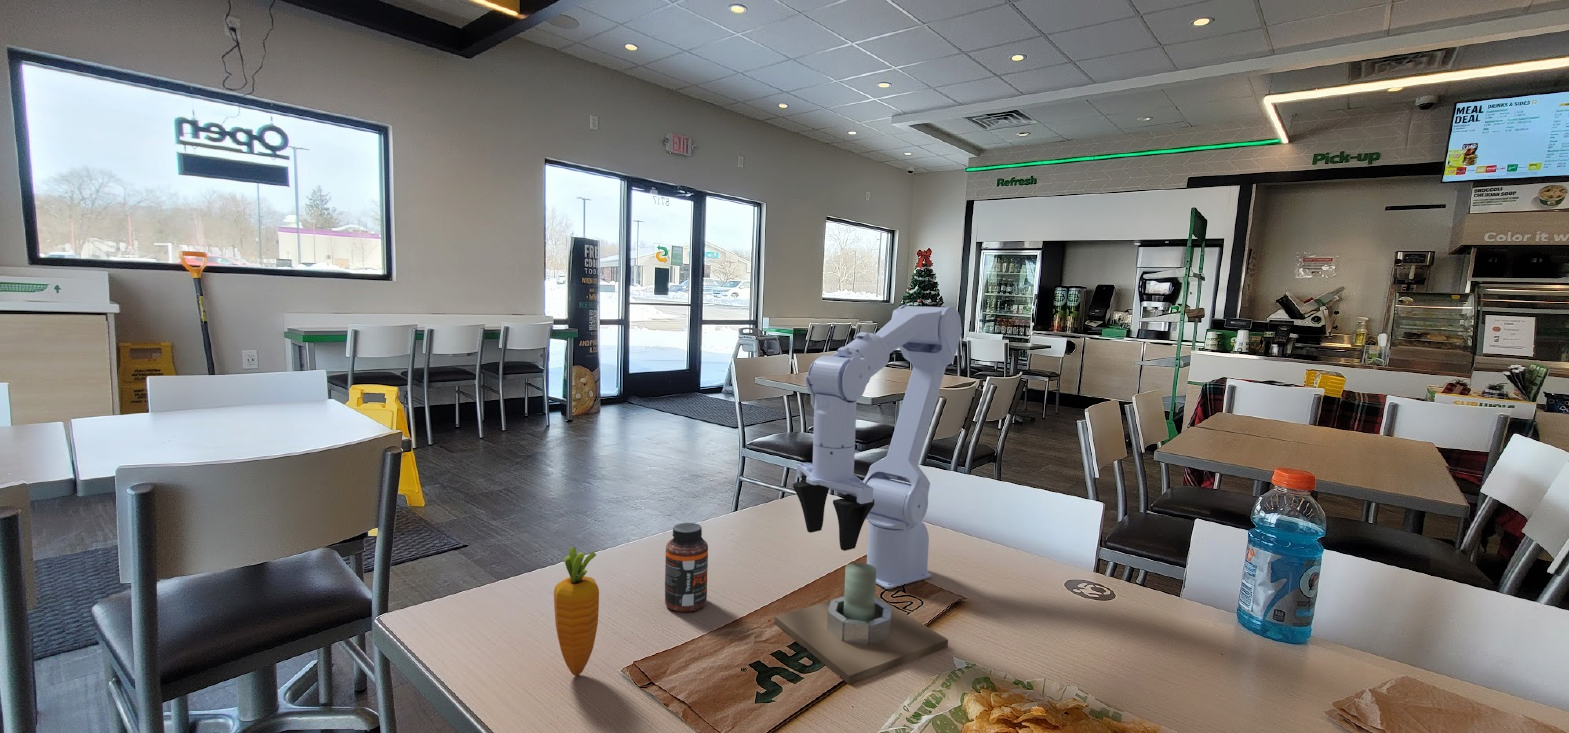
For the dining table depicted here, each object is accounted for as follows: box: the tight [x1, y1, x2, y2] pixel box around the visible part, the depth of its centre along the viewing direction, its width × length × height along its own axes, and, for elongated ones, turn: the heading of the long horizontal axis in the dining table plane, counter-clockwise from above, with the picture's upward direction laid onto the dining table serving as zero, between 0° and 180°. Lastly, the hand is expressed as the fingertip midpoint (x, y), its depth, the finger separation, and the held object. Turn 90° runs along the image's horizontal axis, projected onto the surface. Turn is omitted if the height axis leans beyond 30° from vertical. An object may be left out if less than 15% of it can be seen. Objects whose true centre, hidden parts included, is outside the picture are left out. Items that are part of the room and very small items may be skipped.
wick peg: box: [843, 562, 877, 622], centre depth 85 cm, size 4×4×8 cm
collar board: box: [774, 595, 949, 685], centre depth 85 cm, size 16×16×1 cm
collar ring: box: [827, 596, 891, 645], centre depth 85 cm, size 8×8×2 cm
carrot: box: [553, 547, 600, 677], centre depth 74 cm, size 5×5×15 cm
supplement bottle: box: [664, 522, 709, 613], centre depth 92 cm, size 6×6×11 cm
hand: (830, 539), depth 91 cm, fingers open, 7 cm apart
